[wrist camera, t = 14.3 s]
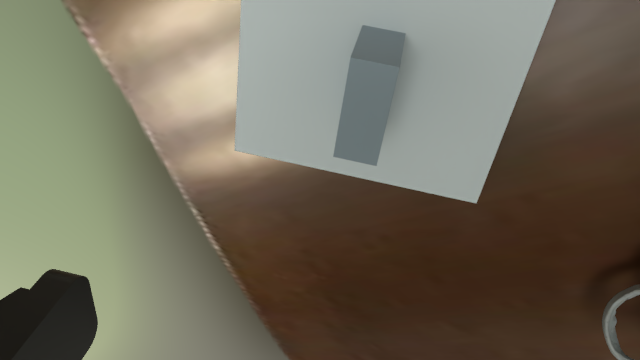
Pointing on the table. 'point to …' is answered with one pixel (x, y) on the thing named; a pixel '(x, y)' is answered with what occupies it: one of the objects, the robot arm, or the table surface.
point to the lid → (385, 86)
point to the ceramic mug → (610, 320)
